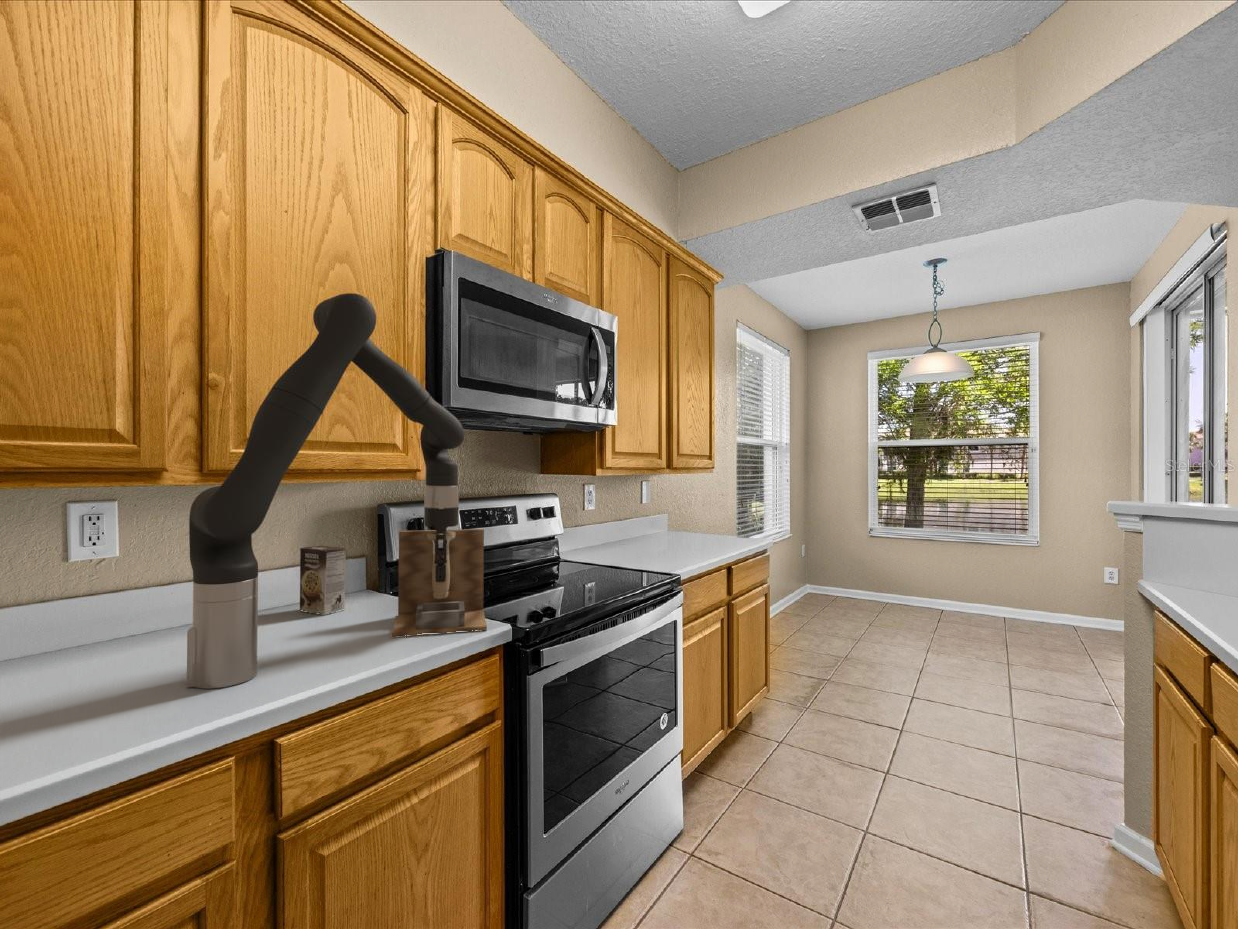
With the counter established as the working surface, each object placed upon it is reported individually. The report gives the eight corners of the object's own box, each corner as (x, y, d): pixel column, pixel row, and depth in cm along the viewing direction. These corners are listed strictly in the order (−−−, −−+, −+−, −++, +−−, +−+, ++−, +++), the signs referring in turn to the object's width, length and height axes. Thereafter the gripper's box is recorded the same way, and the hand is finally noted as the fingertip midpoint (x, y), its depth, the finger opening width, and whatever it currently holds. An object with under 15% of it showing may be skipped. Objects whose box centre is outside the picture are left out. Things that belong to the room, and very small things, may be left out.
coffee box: (298, 612, 143) (298, 547, 143) (320, 606, 149) (321, 544, 149) (324, 616, 139) (324, 550, 139) (346, 610, 145) (346, 546, 145)
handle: (458, 596, 132) (459, 532, 132) (437, 602, 127) (437, 534, 127) (444, 594, 135) (445, 530, 135) (422, 599, 129) (423, 533, 129)
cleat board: (391, 637, 122) (392, 539, 122) (399, 615, 141) (400, 530, 141) (486, 630, 128) (487, 537, 128) (482, 610, 146) (483, 528, 146)
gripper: (425, 503, 137) (425, 574, 137) (422, 507, 123) (422, 587, 123) (458, 503, 139) (457, 573, 139) (458, 507, 125) (458, 585, 125)
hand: (440, 579), depth 131 cm, fingers closed on handle, 4 cm apart
